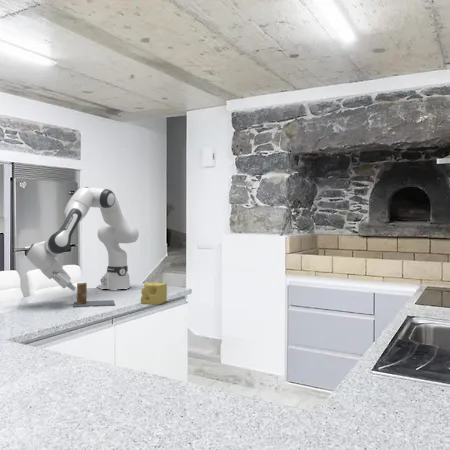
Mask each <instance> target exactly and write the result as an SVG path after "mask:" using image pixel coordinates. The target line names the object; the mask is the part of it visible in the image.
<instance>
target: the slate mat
mask: <svg viewBox="0 0 450 450" xmlns="http://www.w3.org/2000/svg"><path fill="white" fill-rule="evenodd" d="M72 303H73V304H72V308H88V307H89V306H93V307H109V306H111V307H113V306H116V304H115V300H114V299H108V300H104V299H103V300H86V304H77V300H75V301H73V302H72ZM89 308H90V307H89Z"/></svg>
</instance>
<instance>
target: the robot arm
mask: <svg viewBox="0 0 450 450" xmlns="http://www.w3.org/2000/svg"><path fill="white" fill-rule="evenodd" d="M90 208H99V209H100V213H101V216H102V219H103V222H104V223H105V224H107V225H102V226H100V227H99V228H98V230H97V238H98V240H99V241H100V242H101V243H102V244H103V245H104V247H105V249H106V251H107V257H108V258H107V259H108V260H107V261H108V263H107V264H108V265H107V267H106V272H105V274H104V275H102V277H101V279H100V284H98V285H97V286H96V287H97V288H98V289H100V288H103V289H111V290H110V291H116V290H115V289H126V288H129V287H130V286H131V283H130V280H131V279H130V274H129V273H128V272H129V267H128V253H127V252H126V250H124V249H123V248H121V247H120V244H131V243H136V242H137V240H138V239H139V235H140V234H139V229H138V228H137V226H134V225H132V224H131V223H130V222H128V220H126V218H125V216H123V213H122V210H121V208H120V204H119V201H118V199H117V197H116V195H115V193H114V192H113V190H111V189H108V188H102V187H93V186H92V187H89V186H84V187H83V186H82V187H80V188H78V189H77V190H76V191H75V192H74V193H73V195H71V197H70V199H69V201H68V202H67V204H66V206H65V208H64V212H63V213H64V216H65V220H63V223H62V224H61V226H60V228H58V229H59V230H57V231H56V232H54V233H52V235H51V236H49V238H48V239H46V240H44V241H39V242H34V243H32V244H31V245H30V246H29V248H28V250H27V251H26V253H25V256H26V258H27V259H28V260H29V262H30V263H31V264H32V265H33V266H34V267H35V268H38V269H39V271H41V273H42V274H43V275H44V276H45V277H46V278H48V279H49V280H52V279H53V281H55V282H56V283H57V284H58V285H59V286H60V287H61V288H63V289H66V288H68V289H69V290H71V291H72V292H74V291H76V290H77V286H76V285H75V286H74V284H73V283H72V282H71V279H72V278H71V276H70V275H69V273H68V272H66V270H65V269H64V268H63V267H64V266H63V265H62V263H60V262H59V261H58V260H57V259H56V258H57V257H59V256H61V255H63V253H65V252H66V251H68V250H69V249H70V246H71V243H72V242H71V241H72V240H71V239H72V235H73V233H74V231H75V229H76V228H77V226H78V224H79V223H80V222H81V221H83V219H84V218H85V217H86V216H87V214H88V212H89V210H90ZM112 289H113V290H112ZM129 289H130V288H129Z"/></svg>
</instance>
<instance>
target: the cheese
mask: <svg viewBox="0 0 450 450" xmlns="http://www.w3.org/2000/svg"><path fill="white" fill-rule="evenodd" d="M167 285H168V284H167V283H166V282H151V281H150V282H146V283H144V285H143V286H144V287H143V288H142V289H141V293H140V294H141V297H140V304H142V305H143V304H144V305H154V306H155V305H156V306H159V305H162V304H164V303H166V302H167V300H168V299H167V296H168V287H167Z"/></svg>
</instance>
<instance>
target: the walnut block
mask: <svg viewBox="0 0 450 450" xmlns="http://www.w3.org/2000/svg"><path fill="white" fill-rule="evenodd" d="M87 287H88V285H87V282H78V283H77V284H76V301H77V304H86V301H88V300H87V298H88V297H87V291H88V289H87Z"/></svg>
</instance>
